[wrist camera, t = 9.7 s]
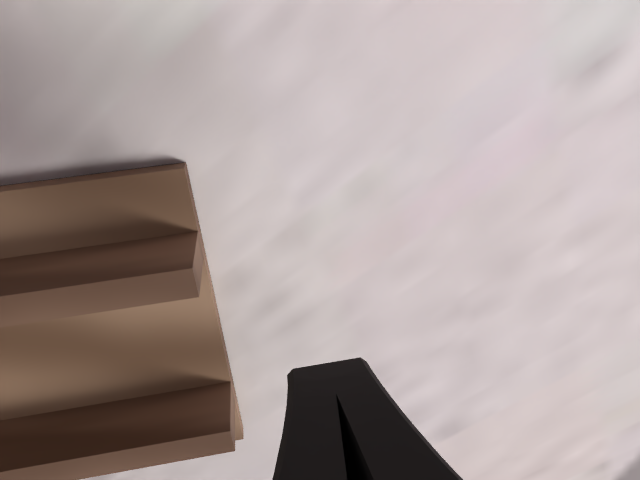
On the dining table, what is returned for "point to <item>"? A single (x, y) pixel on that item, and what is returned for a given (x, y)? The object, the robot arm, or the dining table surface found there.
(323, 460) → the robot arm
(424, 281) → the dining table surface
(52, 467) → the chute
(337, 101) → the dining table surface
